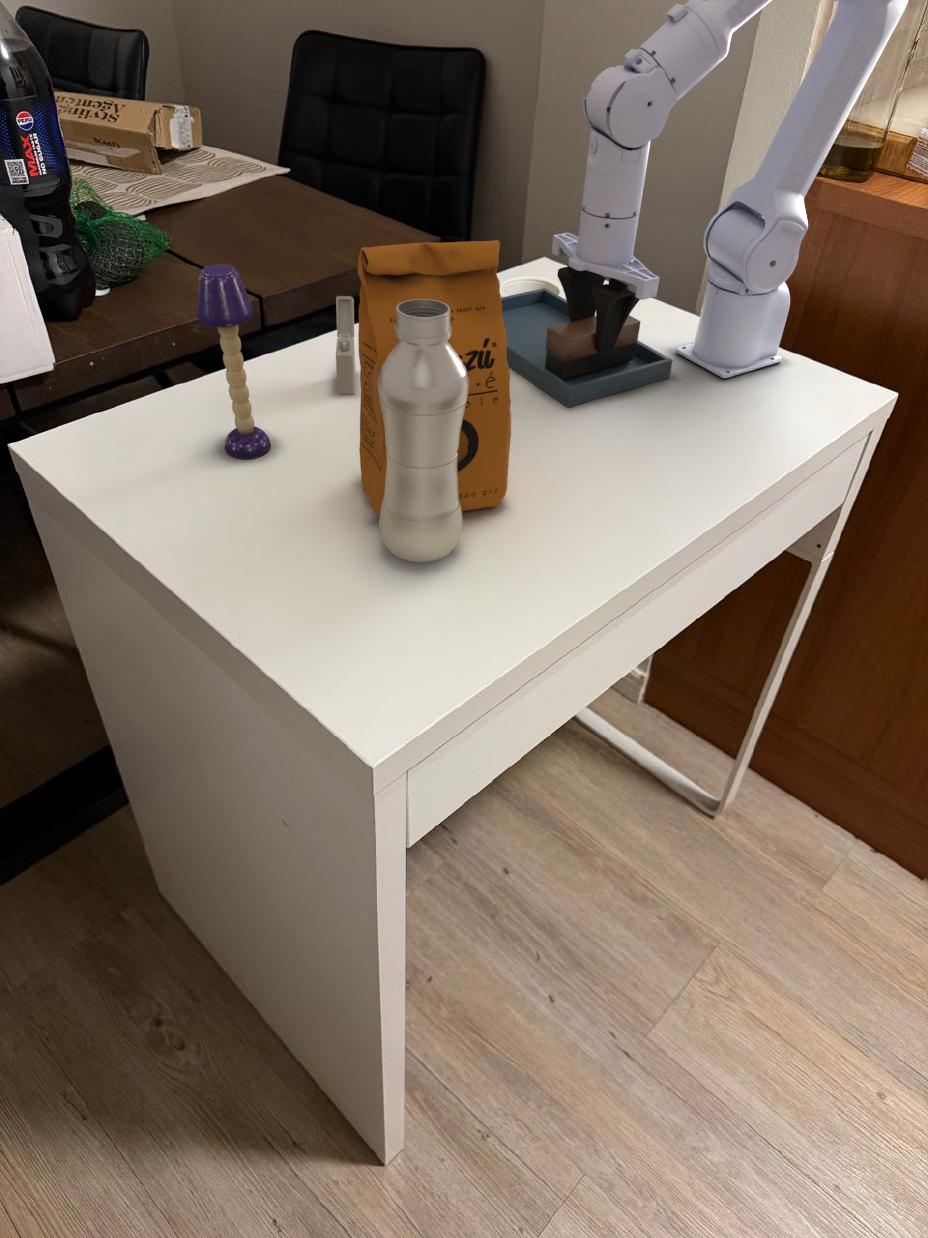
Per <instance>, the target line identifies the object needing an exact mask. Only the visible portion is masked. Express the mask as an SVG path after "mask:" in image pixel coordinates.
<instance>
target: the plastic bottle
mask: <svg viewBox="0 0 928 1238" xmlns="http://www.w3.org/2000/svg"><path fill="white" fill-rule="evenodd" d="M395 335H396V336H397V338H399V342H398V343H397V344H396V346H395V347H394V348H393V350H392V351H391V352H390V354H389V355H388V357H387V358H386V360H385V362H384V363H383V365H382V367H381V370H380V373H379V377H378V392H379V398H380V404H381V410H382V416H383V422H384V428H385V443H386V458H387V467H386V479H385V491H384V497H383V501H382V505H381V512H380V516H379V520H378V526H379V527H378V528H379V531H380V535H381V540H382V543H383V544H384V546H385V548H387V550H389V552H390V553H391V554H392V555H393V556H395V557H397V558H398V559H401V560H403V561H407V562H412V563H430V562H435V561H439V560H441V559H443V558H445V557H447V556H448V555H449V554H450V553H452V551H454V549H455V548H456V546H457V545H458V544H459V542H460V538H461V534H462V532H463V531H462V530H463V527H464V521H463V519H464V518H463V511H462V509H461V504H460V499H459V491H458V470H457V461H458V449H459V441H460V431H461V426H462V421H463V416H464V411H465V406H466V401H467V396H468V389H469V378H468V374H467V370H466V368H465V365H464V364H463V362H462V361H461V359H460V357H459V356H458V354H457V353H456V352H455V350H454V349H453V348H452V347H451V345H450V344H449V343H448V339H449V338H450V337H451V335H452V327H451V325H450V308H449V306H448V305H447V304H445V303H443V302H440V301H437V300H431V299H412V300H407V301H404V302H401V303H400V304H398V305H397V307H396V325H395Z"/></svg>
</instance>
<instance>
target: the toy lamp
mask: <svg viewBox="0 0 928 1238" xmlns="http://www.w3.org/2000/svg"><path fill="white" fill-rule="evenodd" d="M198 279H199V280H198V289H197V291H198V292H197V307H196V314H197V315H196V316H197V319H198V320H199V322H200V323H201V324H203V325H205V326H208V327H211V328H217V331H218V334H219V335H220V339H219V344H220V348H221V350H222V352H223V355H222V361H223V364H224V365H223V366H224V367H225V368H226V369H225V379H226V381H227V384H228V385H229V386H228V394H229V397H230V399H231V400H232V402H231V409H232V412H233V414H234V425H235V427H234V428H233V429H232V430H230V432H229V433H228V434H227V436H226V438H225V441H224V451H225V453H226V454H227V455H228V456H230V457H232V458H235V459H240V460H249V459H250V460H251V459H256V458H259V457H262V456H265V454H267V453H268V452H269V451H270V449H271V447H272V446H271V445H272V443H271V440H270V437H269V436H268V434H267V433H266V432H265V431H264V430H263V429H261V428H260V427H257V426H255V419H254V416H252V411H253V409H252V404H251V401H250V399H249V398H250V390H249V387H248V385H247V373H246V370H245V368H244V361H245V360H244V355H243V354H242V352H241V349H242V342H241V338H240V337H239V335H238V334H239V325H243V324H245V323H247V322H248V321H250V320H251V319H252V318H253V316H254V309H253V306H252V302H251V301H250V298H249V295H248V293H247V291H246V289H245V286H244V284H243V281H242V279H241V276H240V274H239V272H238V270H237V269H236V268H235V267H234V266H233V265H229V264H225V263H224V264H223V263H221V264H220V263H219V264H211V265H207V266H206V267H203V268H202V269H201V271H200V273H199V278H198Z"/></svg>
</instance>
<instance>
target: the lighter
mask: <svg viewBox="0 0 928 1238" xmlns="http://www.w3.org/2000/svg"><path fill="white" fill-rule="evenodd" d="M354 304H355V300H354V297H353V296H352V295H337V296H336V297H335V307H336V311H335V312H336V337H337V338H336V345H335V347H336V348H335V366H336V367H335V368H336V382H337V383H336V385H337V386H336V387H337V394H338V395H355V393H356V359H355V358H356V356H355V352H356V351H355V339H354V338H355V305H354Z"/></svg>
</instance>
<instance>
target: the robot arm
mask: <svg viewBox="0 0 928 1238" xmlns="http://www.w3.org/2000/svg"><path fill="white" fill-rule="evenodd" d="M772 1H773V0H688V1H686V3H685V4H680V3H676V4H674V6H672V7H671V8H670V9H669V10H668V11H667V12H666V17H667V19H668V20H667V21H666V22H665V23H664V24H662V25H661V27H659V28H658V29H657V30H656V31H655V32H654V33H653V34H652V35H651V36H649V37H648V39H647V40H646V41H644V42H643V43H642V44H641V45H640V46H639V47H638V48H637V49H635V48H631V49H630V50H629V51H628V52H626V54H625V55H624V60H625V61H624V64H623V65H621V64H619V65H615V66H610V67H608V68H606V69H605V70H603V71H601V72H600V73H599V74H598V75H597V76H596V77H595V79H594V80H593V81H592V84H591V85H590V90H589V91H588V92H587V96H586V97H583V99H582V100H581V101H582V113H583V116H584V120H585V122H586V123H587V125H588V127H589V130H590V132H589V133H590V134H589V141H588V151H587V157H586V164H585V165H586V166H585V174H584V184H583V192H582V200H581V208H580V209H581V210H580V218H579V226H578V235H575V234H572V233H570V232H564V233H559V234H554V235H552V236H553V237H552V245H551V247H552V248H551V254H552V255H554V256H555V257H565V258H567V259H568V262H567V265H566V266H563V267H560V268H559V269H558V270H557V278H558V280H559V282H560V285H561V287H562V290H563V293H564V296H565V300H567V304H568V310H569V316H570V322H572V321H577V320H581V319H585V318H589V317H593V316H596V332H595V347H596V350H597V351H598V352H603V351H606V350H610V349H613V348H614V346H615V343H616V341H617V339H618V336H619V334H620V332H621V329H622V327H623V325H624V323H625V321H626V319H627V318H628V316H629V315H631V313H632V311H633V310H634V308H635V307H636V306H637V304H638V302H640V300H641V301H644V300H647V299H652V298H656V297H657V296H658V289H659V283H660V279H661V278H660V277H659V276H658V275H656V274H654V273H653V272H651V271H650V269H648V268H647V267H646V266H645V265H644V264H643V263H642V262H641V261H640V260H638V258H637V257H635V255H634V251H635V245H636V240H637V239H636V238H637V231H638V225H639V218H640V213H641V206H642V200H643V194H644V187H645V182H646V181H645V180H646V175H647V167H648V161H649V156H650V155H649V154H650V148H651V141H652V140H654V139H656V138H658V137H659V136H660V135H661V133H662V132H663V130H664V128H665V126H666V124H667V121H668V119H669V118H668V117H669V114H670V112H671V110H672V109H673V107H674V106H675V105H676V104H677V102H679V100H680V99H682V98H683V97H684V96H685V95H686V94H687V93H689V91H690V90H692V89H693V87H694V86H696V85H697V84H698V83H699V82H701V80H703V78H705V77H706V76H707V75H708V74H709V73H710V72H711V71H712V70H713V69H714V68H715V67H717V66H718V65H719V64H720V63H721V62H722V61H724V59H725V58H726V57H727V56H728V53H729V50H730V46H731V45H730V44H731V40H732V35H733V33H734V32H736V31H737V30H738V29H739V28H740V27H742V26H743V25H744V24H745V23H746V22H747V21H749V20H750V19H751V18H752V17H753V16H755V15H756V14H757V13H759V12H760V11H761V10H762V9H763V8H765V6H767V5H768V4H769V3H771V2H772ZM908 3H909V0H838V4H839V5H838V8H837V11H836V13H835V15H834V17H833V19H832V20H831V23H830V25H829V27H828V28H827V30H826V33H825V35H824V37H823V39H822V41H821V43H820V45H819V47H818V49H817V51H816V53H815V55H814V57H813V58H812V60H811V63H810V65H809V67H808V69H807V71H806V73H805V75H804V77H803V79H802V81H801V83H800V85H799V87H798V89H797V91H796V93H795V95H794V97H793V99H792V100H791V103H790V105H789V107H788V109H787V111H786V113H785V115H784V117H783V119H782V121H781V123H780V125H779V127H778V129H777V130H776V133H775V135H774V137H773V139H772V141H771V143H770V145H769V147H768V149H767V151H766V153H765V155H764V157H763V159H762V161H761V163H760V165H759V167H758V168H757V171H756V173H755V175H754V176H752V178H751V179H749V180H747V181H745V182H744V183H742V184H739V185H738V186H737V187H736V188H734V189H733V190H732V192H731V194H730V196H729V197H728V200H727V201H726V203H725V204H724V205H723V207H722V208H721V209H720V210H719V211H718V212H716V213H715V214H714V216H713V217H712V218H711V219H710V221H709V222H708V224H707V226H706V228H705V230H704V235H703V238H702V239H703V240H702V244H703V250H704V253H705V255H706V257H707V258H708V260H709V264H708V268H707V270H708V278H707V282H706V286H705V291H704V296H703V300H702V304H701V309H700V314H699V319H698V323H697V328H696V333H695V338H694V342H692V343H689V344H685V345H681V346H678V347H676V349H675V352H676V353H677V354H678V355H680V356H683V357H684V358H686V359H688V360H689V361H691V362H693V363H695V364H696V365H698V366H701V367H702V368H704V369H705V370H707V371H709V372H711V373H713V374H714V375H716V376H719V377H720V378H722V379H727V378H731V377H734V376H737V375H740V374H744V373H748V372H751V371H754V370H757V369H761V368H765V367H767V366H771V365H774V364H777V363H780V362H782V360H783V356H781V355H779V354H778V351H779V347H780V344H781V340H782V337H783V333H784V329H785V326H786V322H787V318H788V315H789V311H790V306H791V294H790V290H789V287H788V284H787V283H786V281H788V279H789V278H790V277H791V275H792V274H793V272H794V271H795V269H796V266H797V264H798V261H799V254H800V248H801V245H802V241H803V239H804V237H805V235H806V234H807V232H808V230H809V222H808V217H807V213H806V212H807V211H806V207H805V206H806V205H805V197H806V196H807V194H808V192H809V190H810V189H811V186H812V184H813V182H814V180H815V179H816V177H817V175H818V173H819V171H820V169H821V168H822V166H823V163H824V162H825V160H826V158H827V156H828V154H829V152H830V150H831V149H832V147H833V145H834V143H835V142H836V139H837V138H838V135H839V134H840V132H841V130H842V128H843V126H844V124H845V122H846V120H847V119H848V117H849V115H850V113H851V111H852V109H853V107H854V106H855V103H856V102H857V100H858V98H859V96H860V95H861V93H862V90H863V89H864V87H865V85H866V83H867V81H868V79H869V77H870V76H871V74H872V72H873V70H874V68H875V66H876V65H877V62H878V61H879V60H880V59H879V58H880V57H881V55H882V53H883V51H884V50H885V48H886V46H887V44H888V42H889V40H890V38H891V36H892V35H893V32H894V30H895V29H896V27H897V26H898V23H899V22H900V19H901V18H902V16H903V14H904V12H905V10H906V7H907V5H908ZM606 279H607V280H608V283H605V282H606Z"/></svg>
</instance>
